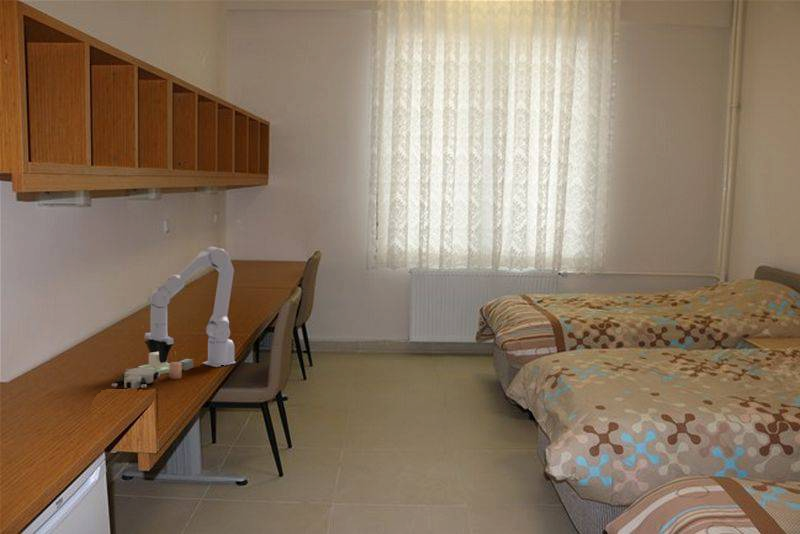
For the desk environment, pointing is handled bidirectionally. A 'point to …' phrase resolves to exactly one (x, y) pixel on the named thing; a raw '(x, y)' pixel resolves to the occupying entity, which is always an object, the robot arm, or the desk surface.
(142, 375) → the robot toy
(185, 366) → the slate block
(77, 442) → the desk surface
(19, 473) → the desk surface
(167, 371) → the tray
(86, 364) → the desk surface
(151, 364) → the cream block
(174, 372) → the pink rounded capsule
